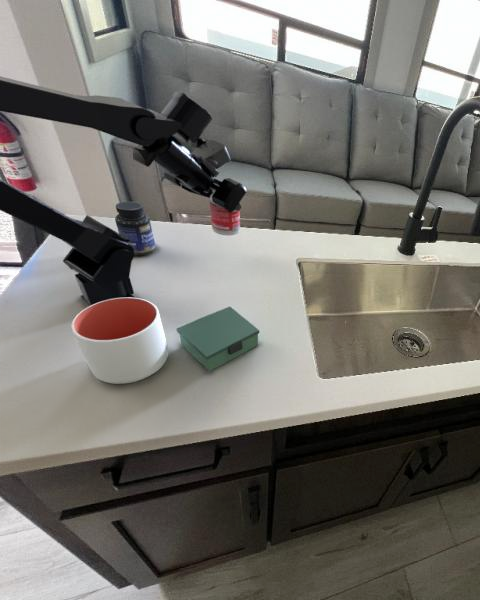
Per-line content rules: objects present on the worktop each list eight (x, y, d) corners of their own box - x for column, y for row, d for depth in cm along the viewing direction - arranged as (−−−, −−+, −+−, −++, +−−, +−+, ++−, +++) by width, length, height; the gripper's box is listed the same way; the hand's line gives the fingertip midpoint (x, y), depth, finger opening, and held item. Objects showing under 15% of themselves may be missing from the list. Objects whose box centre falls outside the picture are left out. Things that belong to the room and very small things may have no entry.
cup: (85, 393, 48) (60, 346, 43) (100, 345, 55) (81, 298, 50) (166, 381, 53) (154, 337, 47) (172, 338, 60) (162, 295, 54)
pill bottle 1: (151, 257, 76) (140, 213, 70) (119, 255, 74) (105, 209, 68) (159, 244, 81) (150, 202, 74) (130, 242, 79) (118, 198, 72)
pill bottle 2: (236, 238, 79) (234, 193, 73) (208, 233, 77) (204, 188, 71) (243, 227, 84) (241, 184, 78) (216, 223, 82) (213, 179, 76)
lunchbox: (210, 374, 56) (207, 358, 54) (178, 343, 59) (174, 327, 57) (261, 346, 63) (260, 331, 61) (230, 320, 67) (229, 305, 64)
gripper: (237, 143, 62) (278, 190, 77) (169, 114, 67) (220, 163, 82) (203, 190, 60) (252, 229, 75) (136, 157, 65) (194, 200, 80)
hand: (230, 203), depth 78 cm, fingers closed on pill bottle 2, 6 cm apart
